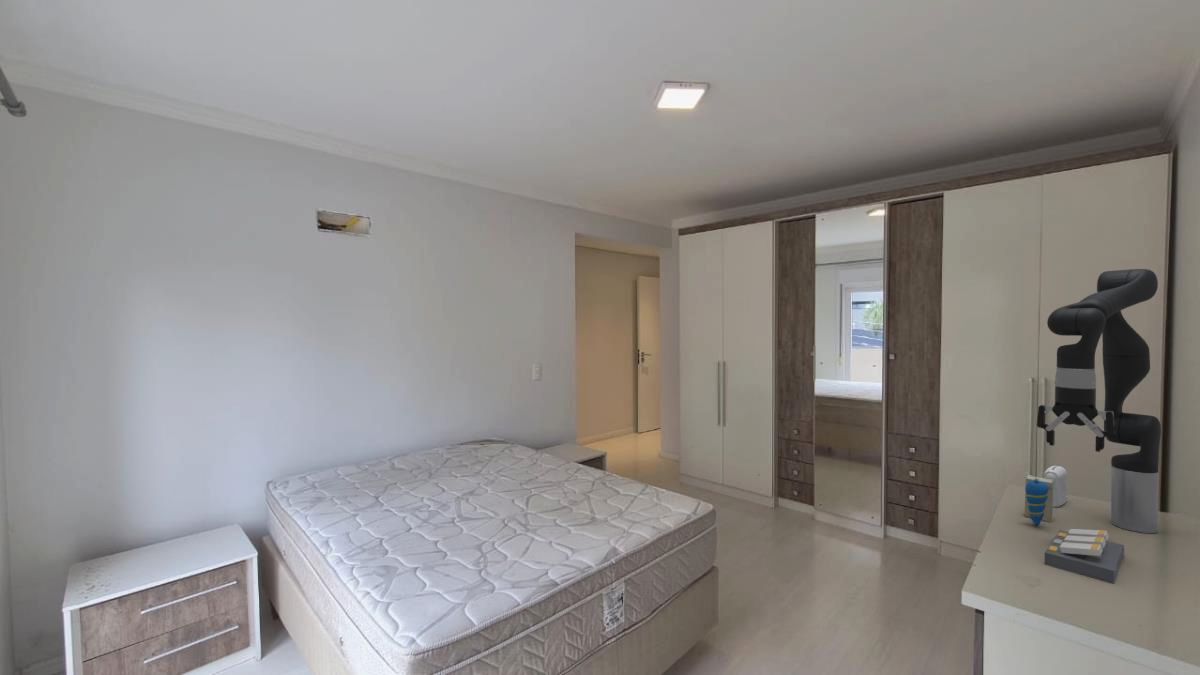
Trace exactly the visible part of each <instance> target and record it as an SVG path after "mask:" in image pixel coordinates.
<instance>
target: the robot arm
mask: <svg viewBox="0 0 1200 675" xmlns="http://www.w3.org/2000/svg"><path fill="white" fill-rule="evenodd" d="M1158 285H1159V281H1158V276H1157V275H1156V273H1155V272H1154V271H1153V270H1151V269H1147V268H1134V269H1133V268H1132V269H1131V268H1130V269H1118V270H1107V271H1103V272H1102V273H1100V275H1099V276H1098V278H1097V282H1096V292H1095V293H1092V294H1090V295H1087V296H1086V297H1084V298H1083V299H1081V300H1080V301H1078V302H1074V303H1070V304H1067V305H1064V306H1060V307H1058V308H1057V309H1055V310H1053V311H1052V312H1051V313H1050V315H1049V316H1048V318H1047V321H1046V322H1047V323H1046V324H1047V328H1048V329H1049V330H1050V332H1051V333H1053V334H1054V335H1056V336H1063V337H1064V336H1065V337H1066V336H1068V337H1069V336H1077V337H1078V336H1080V340H1078V341H1077V342H1076V343H1072V344H1071V343H1070V344H1064V345H1061V346H1059V347H1057V350H1056V370H1055V375H1054V378H1055V379H1054V405H1053V406H1049V405H1045V404H1040V405H1039V406H1038V408H1037V410H1038V411H1037V420H1036V427H1038V428H1039V429H1042V430H1045V432H1046V433H1045V434H1046V435H1045V436H1046V438H1045V440H1046V443H1047V444H1049V446H1055V444H1056V443H1055V442H1056V441H1055V434H1056V432H1055V430H1054V429H1055V428H1057V427H1058V426H1059V425H1060V424H1061V423H1062V424H1065V425H1068V426H1069V425H1075V426H1078V427H1083V426H1087V428H1089V430H1091V431H1092V432H1093V433H1094V434H1095V435H1096V436H1095V452H1098V453H1100V452H1101V451H1103V450H1104V448H1105V439H1106V440H1107V441H1109V442H1111V443H1115V444H1121V445H1128V446H1134V447H1139V448H1140V449H1139V451H1137V452H1133V453H1127V454H1126V453H1125V454H1116V455H1115V454H1114V455H1113V456H1112V457H1111V459H1110V461H1111V462H1110V464H1111V466H1110V467H1111V468H1110V470H1111V472H1110V473H1111V474H1110V476H1111V478H1110V479H1111V480H1110V482H1111V484H1110V486H1111V487H1110V490H1111V491H1110V523H1111V524H1112V525H1113V526H1116V527H1117V528H1121V529H1124V530H1128V531H1131V532H1137V533H1145V534H1157V533H1159V464H1160V444H1161V432H1162V428H1161V422H1160V420H1159V419H1158V418H1157V417H1156V416H1154V415H1148V414H1140V413H1133V412H1131V413H1130V412H1123V406H1124V405H1123V404H1124V402H1125V400H1126V398H1128V396H1129V395H1130V393H1131V392H1133V390H1134V389H1135V388H1136V387H1137V386H1138V385H1139V384H1140V383H1141V382H1142V381H1143V380H1144V379H1145V378H1146V377H1147V376H1148V375H1149V372H1150V370H1151V357H1150V356H1151V354H1150V353H1151V352H1150V347H1149V344H1148V343H1147V342H1146V341H1145V339H1144V338H1143V337H1142V336H1141V335H1140V334H1139V333H1138V332H1137V331H1136V330H1135V329H1134V328H1133V327H1132V326H1131V325H1130V324H1129V323H1128V321H1127V320H1126V318H1125V317H1124V315H1123V313H1122V311H1123V310H1125V309H1127V308H1130V307H1132V306H1135V305H1137V304H1140V303H1144V302H1146V301H1149V300H1150V299H1152V298H1153V297H1154V296H1155V295H1156V294H1157V290H1158ZM1101 338H1102V340H1101V341H1102V351H1101V352H1102V365H1103V366H1102V367H1103V369H1102V370H1103V378H1104V407H1103V408H1104V410H1098V409H1097V406H1096V405H1097V400H1096V399H1097V395H1096V394H1097V376H1096V370H1095V367H1096V366H1095V364H1096V350H1097V347H1098V344H1099V341H1100V339H1101ZM1051 411H1052V413H1053V414H1054V415H1055V416H1056V419H1054V420H1053V421H1052V422H1051V423H1049V424H1047V423H1046V415H1047V414H1050V412H1051ZM1098 416H1100V417H1101V419H1102V420H1103V429H1101V428H1100V427H1099V425H1098V424H1097V423H1096V422H1095V421H1094V420H1095V419H1096V418H1097V417H1098Z"/></svg>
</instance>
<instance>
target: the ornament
mask: <svg viewBox="0 0 1200 675" xmlns="http://www.w3.org/2000/svg"><path fill="white" fill-rule="evenodd" d="M1035 477H1036V479H1034V481H1029V482H1028V483H1027V485H1026V484H1025V487H1024V491H1026V494H1027V496H1026V499H1027V501H1028V503H1029V505H1028V508H1029V511H1030V517H1031V518H1030V517H1029V518H1030V519H1031V521H1032V523H1033V525H1034V526H1035V527H1036V526H1037V527H1038V528H1039V527H1040V524H1041V522H1042V521H1043V520H1042V518H1043V516H1044V509H1045V506H1046V504H1045V502H1046V500H1047V498H1048V496H1047V493H1048V491H1049V487H1048V486H1047V485H1046V484H1045V483H1043V482H1039V479H1037V477H1038V476H1035Z"/></svg>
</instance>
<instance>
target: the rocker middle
mask: <svg viewBox="0 0 1200 675" xmlns="http://www.w3.org/2000/svg"><path fill="white" fill-rule="evenodd" d="M1064 541H1065V542H1068V543H1082V544H1099V545H1101V547H1102V548H1104V547H1105V545H1106V542H1105V539H1104V538H1103V537H1086V536H1070V535H1067V536H1066V537H1065V539H1064Z"/></svg>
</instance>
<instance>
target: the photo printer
mask: <svg viewBox="0 0 1200 675" xmlns="http://www.w3.org/2000/svg"><path fill="white" fill-rule="evenodd" d="M1043 478H1045V479H1051V480H1053V508H1059V507H1062V506H1063V505H1064V504H1066V503H1067V501H1068V473H1067V470H1066V468H1064V466H1061V465H1060V466H1059V465H1052V466H1049V467H1048V468H1047V469H1046V470H1045V471H1044V474H1043ZM1066 496H1067V497H1066Z"/></svg>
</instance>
